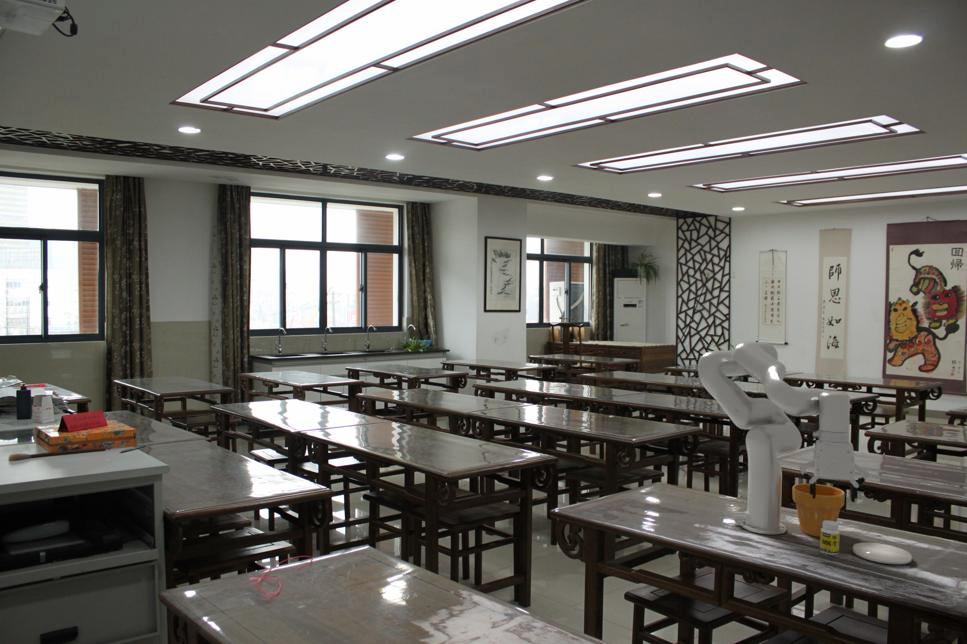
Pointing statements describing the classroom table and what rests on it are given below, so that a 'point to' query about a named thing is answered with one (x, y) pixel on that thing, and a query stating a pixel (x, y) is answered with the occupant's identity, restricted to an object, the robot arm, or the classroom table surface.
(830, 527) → the supplement bottle
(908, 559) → the dish
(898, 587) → the classroom table surface
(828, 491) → the flower pot
